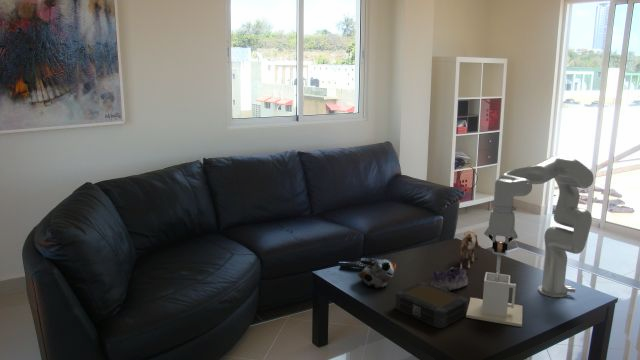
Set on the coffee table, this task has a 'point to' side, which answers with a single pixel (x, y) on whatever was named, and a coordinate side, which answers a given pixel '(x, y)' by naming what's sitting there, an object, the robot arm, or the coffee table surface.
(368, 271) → the lucky cat figurine
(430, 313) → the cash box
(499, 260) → the plunger
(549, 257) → the robot arm
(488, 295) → the square white mug
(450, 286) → the geode
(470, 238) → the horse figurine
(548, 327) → the coffee table surface
